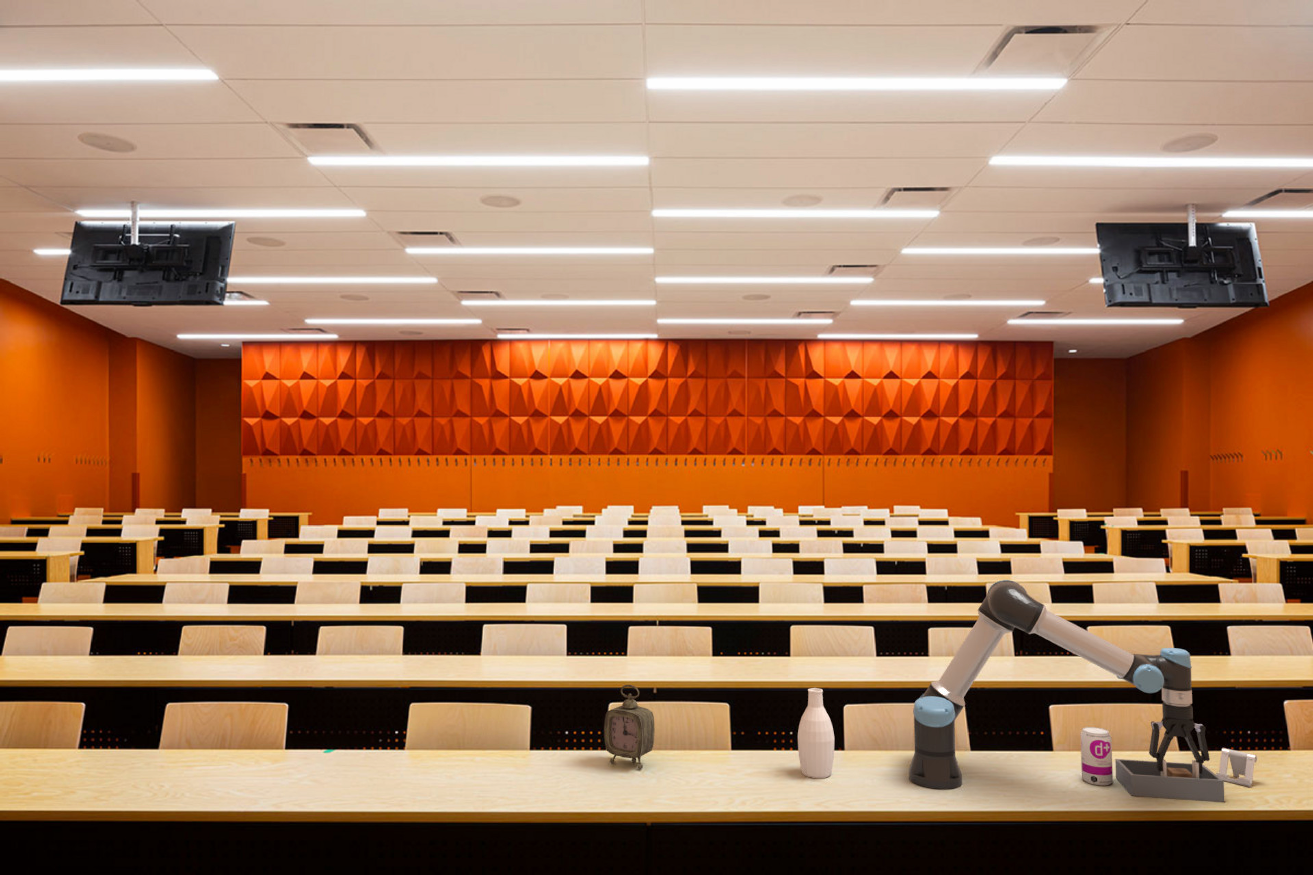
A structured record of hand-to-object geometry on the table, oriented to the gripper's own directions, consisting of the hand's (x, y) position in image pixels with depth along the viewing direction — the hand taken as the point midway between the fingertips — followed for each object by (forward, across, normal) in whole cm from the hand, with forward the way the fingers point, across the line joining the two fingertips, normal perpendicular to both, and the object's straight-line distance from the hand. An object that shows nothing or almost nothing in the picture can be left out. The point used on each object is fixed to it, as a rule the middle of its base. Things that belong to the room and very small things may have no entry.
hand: (1180, 783), depth 248 cm
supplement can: (+2, -21, +4) cm, 22 cm away
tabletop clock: (+2, -161, -9) cm, 161 cm away
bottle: (+2, -103, -6) cm, 103 cm away
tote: (+2, -3, 0) cm, 4 cm away
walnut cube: (+1, 0, 0) cm, 1 cm away
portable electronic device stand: (+2, +20, +13) cm, 24 cm away
